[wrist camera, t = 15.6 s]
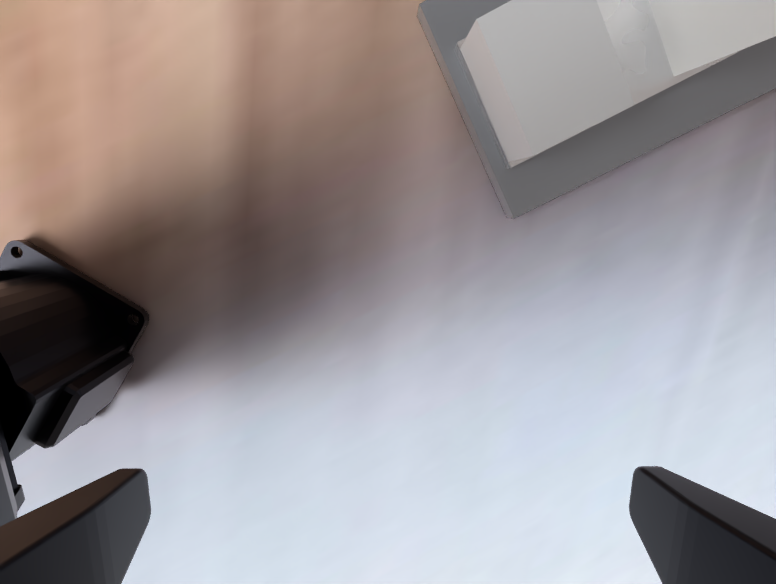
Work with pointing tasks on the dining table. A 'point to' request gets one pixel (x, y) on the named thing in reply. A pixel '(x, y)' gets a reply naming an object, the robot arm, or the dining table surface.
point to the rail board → (601, 137)
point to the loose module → (710, 28)
